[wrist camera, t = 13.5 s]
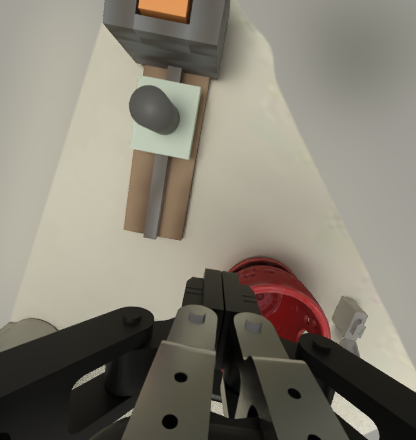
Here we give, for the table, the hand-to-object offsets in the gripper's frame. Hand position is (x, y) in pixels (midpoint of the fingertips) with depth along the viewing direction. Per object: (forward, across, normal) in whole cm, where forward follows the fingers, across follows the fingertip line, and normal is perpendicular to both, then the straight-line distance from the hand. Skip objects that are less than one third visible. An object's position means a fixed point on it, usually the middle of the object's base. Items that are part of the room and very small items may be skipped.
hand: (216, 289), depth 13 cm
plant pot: (+26, -8, +12) cm, 30 cm away
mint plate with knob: (+24, +7, -10) cm, 27 cm away
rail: (+26, +7, -9) cm, 28 cm away
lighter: (+26, -21, +14) cm, 36 cm away
